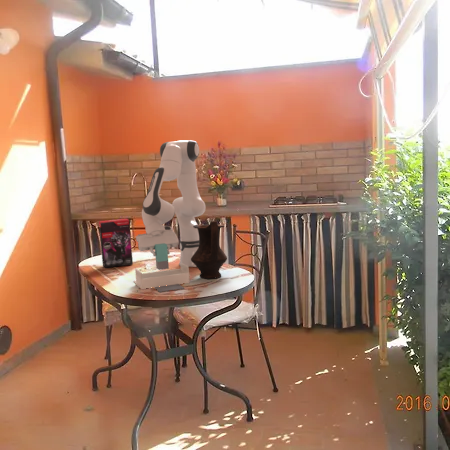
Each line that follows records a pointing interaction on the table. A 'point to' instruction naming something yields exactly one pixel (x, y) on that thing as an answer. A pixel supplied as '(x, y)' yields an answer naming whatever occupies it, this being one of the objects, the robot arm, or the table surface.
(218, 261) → the jug
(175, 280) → the carton
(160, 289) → the slate mat
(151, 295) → the table surface
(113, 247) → the graphics card box
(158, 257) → the teal box
